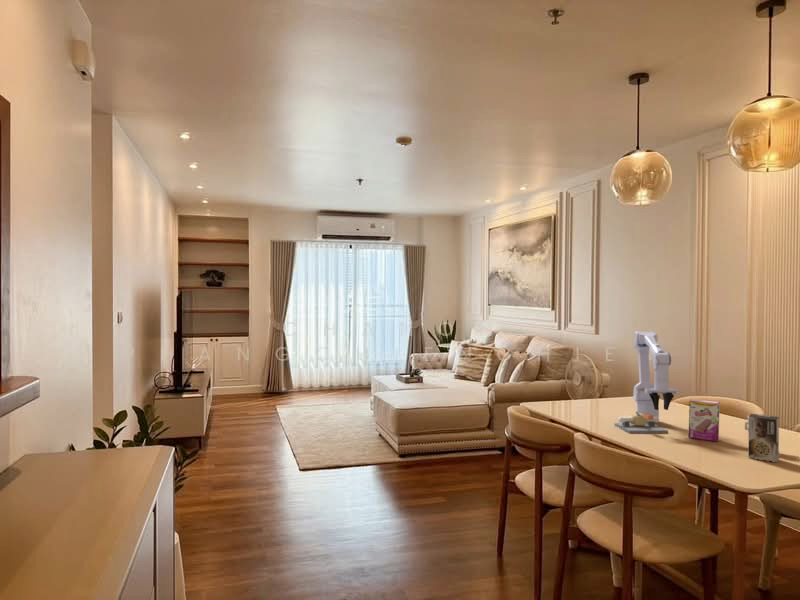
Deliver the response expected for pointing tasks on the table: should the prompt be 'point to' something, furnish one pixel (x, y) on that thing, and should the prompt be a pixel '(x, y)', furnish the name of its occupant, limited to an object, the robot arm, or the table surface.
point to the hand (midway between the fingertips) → (661, 409)
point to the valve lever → (645, 415)
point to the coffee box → (763, 437)
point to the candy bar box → (704, 420)
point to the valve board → (641, 428)
